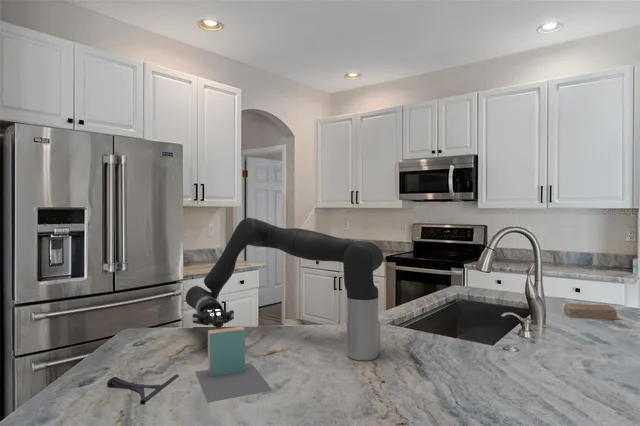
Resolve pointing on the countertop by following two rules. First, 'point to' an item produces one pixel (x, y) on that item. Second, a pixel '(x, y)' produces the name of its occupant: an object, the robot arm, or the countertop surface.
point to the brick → (590, 311)
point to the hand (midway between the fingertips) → (219, 324)
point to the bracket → (139, 387)
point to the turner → (272, 352)
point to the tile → (226, 351)
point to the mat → (232, 384)
